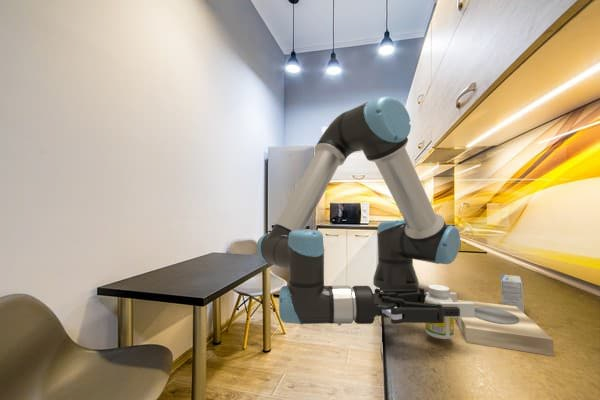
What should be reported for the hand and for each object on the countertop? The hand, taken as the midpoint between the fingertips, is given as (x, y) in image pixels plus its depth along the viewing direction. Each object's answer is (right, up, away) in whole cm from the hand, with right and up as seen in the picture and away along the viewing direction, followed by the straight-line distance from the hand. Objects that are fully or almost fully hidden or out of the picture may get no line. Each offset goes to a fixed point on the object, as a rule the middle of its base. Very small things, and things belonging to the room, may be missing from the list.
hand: (464, 304), depth 56 cm
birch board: (+10, -8, +5) cm, 13 cm away
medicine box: (+23, -8, +16) cm, 29 cm away
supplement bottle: (-5, -6, 0) cm, 8 cm away
